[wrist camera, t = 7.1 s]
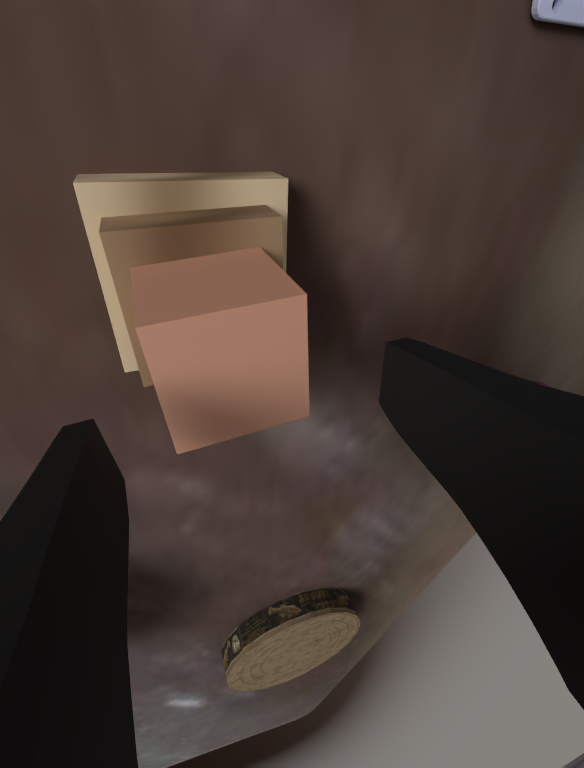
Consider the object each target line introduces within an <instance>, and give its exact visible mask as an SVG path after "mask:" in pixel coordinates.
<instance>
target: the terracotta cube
mask: <svg viewBox="0 0 584 768" xmlns="http://www.w3.org/2000/svg"><path fill="white" fill-rule="evenodd" d="M130 271H131V284H132V296H133V309H134V321H135V329H136V332H137V335H138V338H139V341H140V344H141V347H142V350H143V353H144V356H145V359H146V362H147V365H148V368H149V371H150V374H151V377H152V380H153V383H154V386H155V389H156V392H157V395H158V398H159V401H160V404H161V407H162V410H163V413H164V416H165V419H166V422H167V425H168V428H169V431H170V434H171V437H172V440H173V443H174V446H175V449H176V452H177V454H181V453H184V452H188V451H191V450H195V449H198V448H201V447H205V446H208V445H212V444H215V443H219V442H222V441H226V440H229V439H233V438H236V437H240V436H243V435H247V434H250V433H254V432H257V431H261V430H264V429H268V428H271V427H275V426H278V425H282V424H285V423H289V422H292V421H296V420H299V419H302V418H306V417H309V369H308V322H307V294H306V293H305V292H304V291H303V290H302V289H301V288H300V287H299V286H298V285H297V284H296V283H295V282H294V281H293V280H292V279H291V278H290V277H289V276H288V275H287V274H286V273H285V272H284V271H283V270H282V269H281V268H280V267H279V266H278V265H277V264H276V263H275V262H274V261H273V260H272V259H271V258H270V257H269V256H268V255H267V254H266V253H265V252H264V251H263V250H262V249H261V248H260V247H257V248H251V249H245V250H239V251H232V252H226V253H220V254H213V255H207V256H201V257H195V258H188V259H182V260H176V261H170V262H163V263H157V264H151V265H145V266H138V267H132V268H130Z"/></svg>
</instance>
